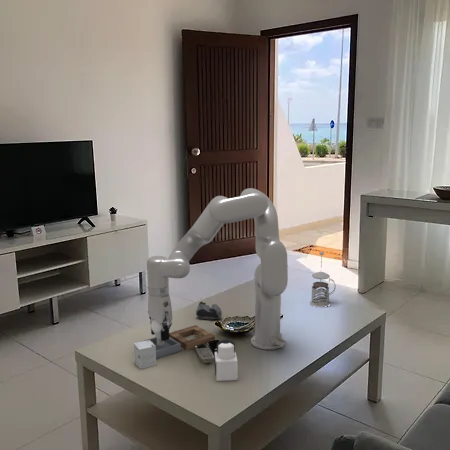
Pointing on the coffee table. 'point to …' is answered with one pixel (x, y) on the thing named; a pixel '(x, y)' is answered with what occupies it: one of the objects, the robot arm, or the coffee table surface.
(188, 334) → the socket collar
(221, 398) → the coffee table surface
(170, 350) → the tray
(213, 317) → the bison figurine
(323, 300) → the french press
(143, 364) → the skincare box
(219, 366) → the medicine bottle
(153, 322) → the lightbulb
